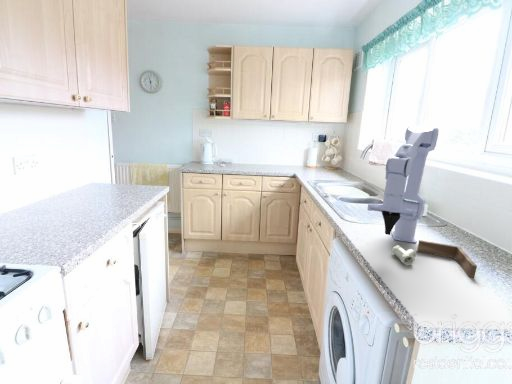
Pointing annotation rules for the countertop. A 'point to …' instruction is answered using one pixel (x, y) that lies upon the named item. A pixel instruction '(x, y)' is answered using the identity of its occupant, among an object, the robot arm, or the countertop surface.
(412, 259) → the pipe fitting
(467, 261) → the corner arena
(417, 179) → the robot arm
